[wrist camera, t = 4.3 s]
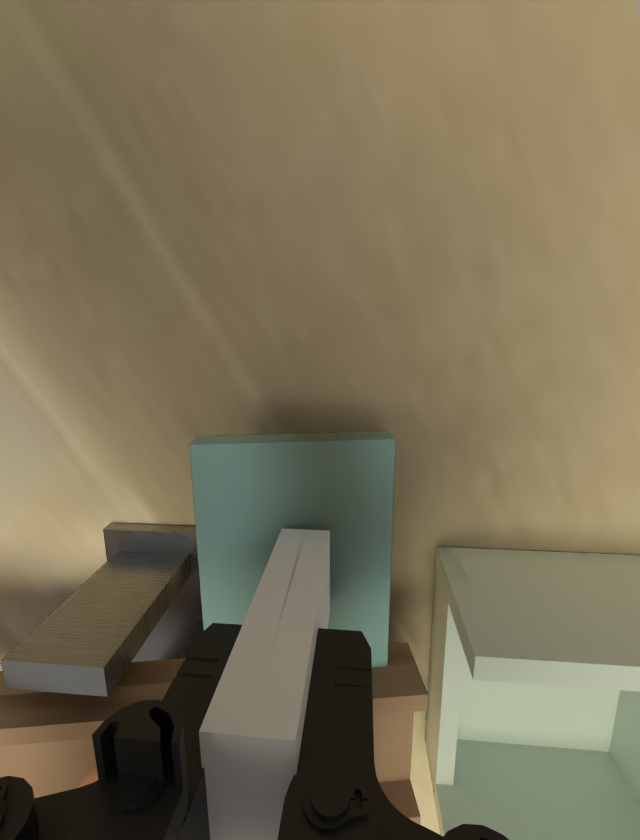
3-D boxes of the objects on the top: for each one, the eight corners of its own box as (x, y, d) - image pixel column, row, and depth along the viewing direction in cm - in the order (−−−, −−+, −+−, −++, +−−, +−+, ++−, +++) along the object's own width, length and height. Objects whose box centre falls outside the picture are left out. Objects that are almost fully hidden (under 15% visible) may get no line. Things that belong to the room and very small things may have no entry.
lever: (-162, 785, 16) (-331, 959, 12) (-278, 436, 13) (-566, 492, 9) (391, 735, 18) (426, 870, 14) (403, 419, 15) (454, 458, 11)
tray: (436, 546, 18) (475, 656, 12) (654, 555, 17) (812, 677, 11) (424, 738, 20) (452, 911, 14) (617, 754, 19) (732, 944, 13)
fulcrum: (111, 523, 19) (-25, 630, 12) (205, 526, 18) (119, 639, 12) (135, 722, 21) (34, 902, 15) (220, 729, 21) (154, 918, 14)
